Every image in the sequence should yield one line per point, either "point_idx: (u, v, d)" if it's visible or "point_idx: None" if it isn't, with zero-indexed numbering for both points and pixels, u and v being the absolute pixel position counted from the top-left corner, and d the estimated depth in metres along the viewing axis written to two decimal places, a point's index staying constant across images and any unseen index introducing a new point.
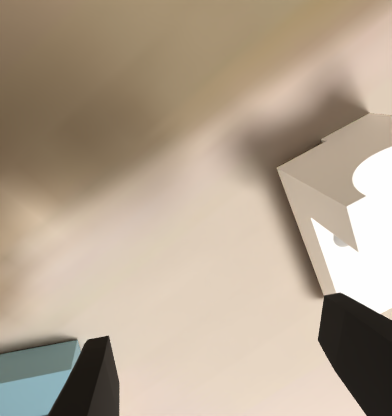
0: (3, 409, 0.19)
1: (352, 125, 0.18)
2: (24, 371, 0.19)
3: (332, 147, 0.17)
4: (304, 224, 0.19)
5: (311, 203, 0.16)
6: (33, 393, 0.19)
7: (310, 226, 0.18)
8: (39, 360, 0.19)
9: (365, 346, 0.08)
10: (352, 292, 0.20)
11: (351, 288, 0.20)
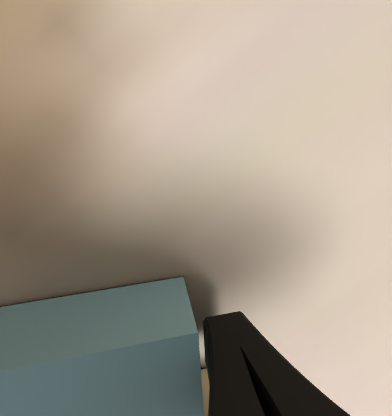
0: None
1: None
2: (81, 337, 0.07)
3: None
4: None
5: None
6: (101, 393, 0.07)
7: None
8: (111, 314, 0.08)
9: None
10: None
11: None
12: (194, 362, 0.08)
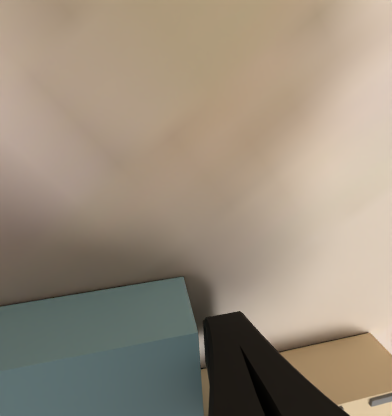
0: None
1: None
2: (81, 336, 0.07)
3: None
4: None
5: None
6: (101, 393, 0.07)
7: None
8: (111, 314, 0.08)
9: None
10: None
11: None
12: (194, 362, 0.08)
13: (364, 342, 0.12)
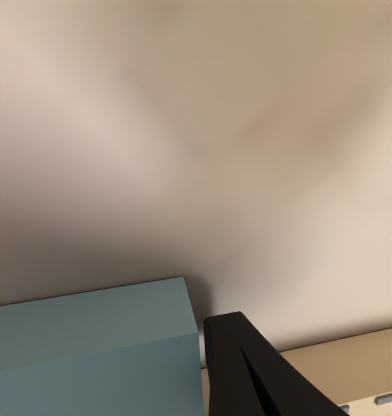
0: None
1: None
2: (81, 336, 0.07)
3: None
4: None
5: None
6: (101, 393, 0.07)
7: None
8: (111, 314, 0.08)
9: None
10: None
11: None
12: (194, 362, 0.08)
13: None
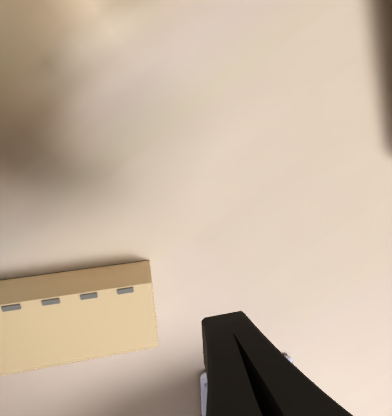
0: None
1: None
2: None
3: None
4: None
5: None
6: None
7: None
8: None
9: None
10: None
11: None
12: None
13: (140, 265, 0.19)
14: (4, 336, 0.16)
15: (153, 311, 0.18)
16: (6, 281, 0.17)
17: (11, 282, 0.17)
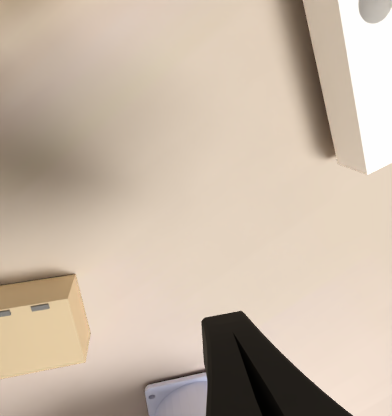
0: None
1: None
2: None
3: None
4: None
5: None
6: None
7: None
8: None
9: None
10: (375, 110, 0.15)
11: (375, 103, 0.15)
12: None
13: (64, 279, 0.18)
14: None
15: (74, 327, 0.17)
16: None
17: None
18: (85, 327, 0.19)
